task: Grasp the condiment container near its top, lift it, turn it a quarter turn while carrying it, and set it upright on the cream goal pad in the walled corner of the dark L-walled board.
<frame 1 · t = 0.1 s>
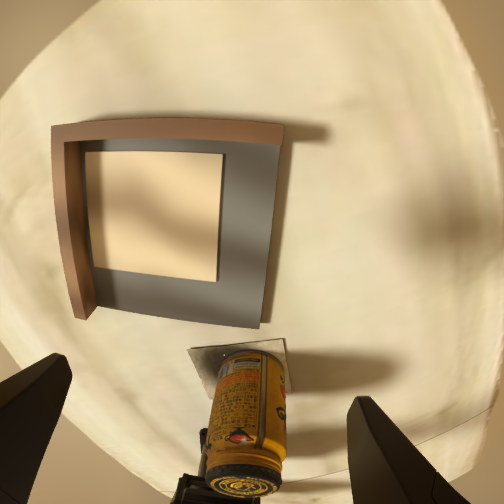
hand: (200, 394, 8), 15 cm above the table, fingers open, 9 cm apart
condiment: (242, 370, 27), on the table
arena: (172, 233, 22), on the table
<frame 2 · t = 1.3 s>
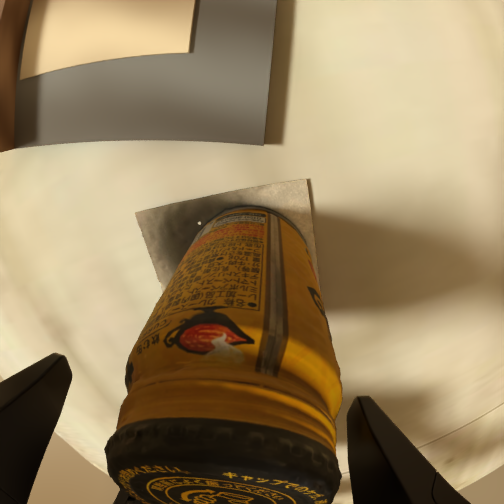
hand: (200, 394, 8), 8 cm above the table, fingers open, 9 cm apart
condiment: (233, 260, 16), on the table
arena: (131, 8, 10), on the table
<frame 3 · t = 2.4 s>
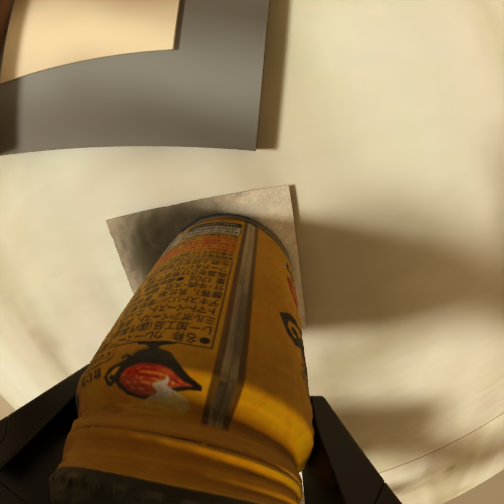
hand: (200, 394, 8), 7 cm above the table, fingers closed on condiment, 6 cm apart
condiment: (209, 272, 15), on the table, touching gripper
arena: (114, 4, 9), on the table
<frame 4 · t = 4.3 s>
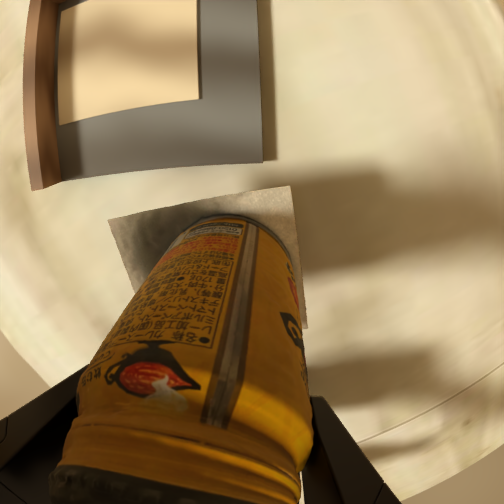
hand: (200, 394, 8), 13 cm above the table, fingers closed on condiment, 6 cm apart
condiment: (211, 272, 15), point 6 cm above the table, touching gripper
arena: (146, 63, 16), on the table
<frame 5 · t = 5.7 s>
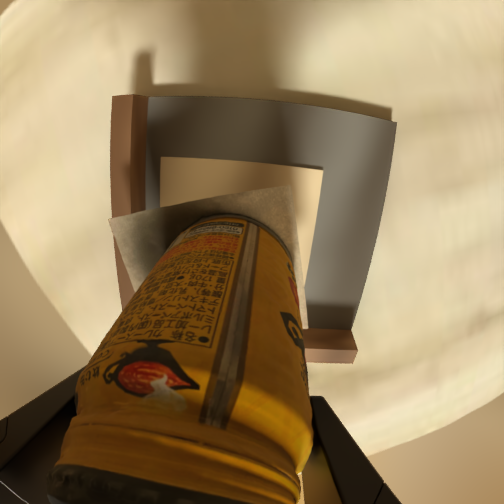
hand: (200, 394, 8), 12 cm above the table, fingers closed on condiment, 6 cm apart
condiment: (211, 272, 15), point 5 cm above the table, touching gripper
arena: (262, 219, 18), on the table
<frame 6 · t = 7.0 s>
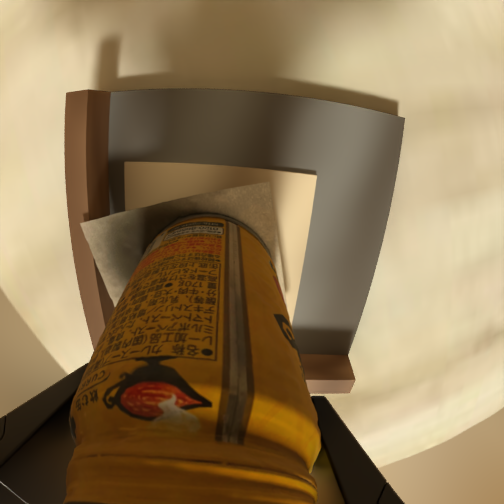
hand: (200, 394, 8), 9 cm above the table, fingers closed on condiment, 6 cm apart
condiment: (189, 273, 14), point 2 cm above the table, touching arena, gripper
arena: (245, 233, 16), on the table
when the fingers open (9 cm above the table, at t = 7.1 s): condiment stays where it is, resting on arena.
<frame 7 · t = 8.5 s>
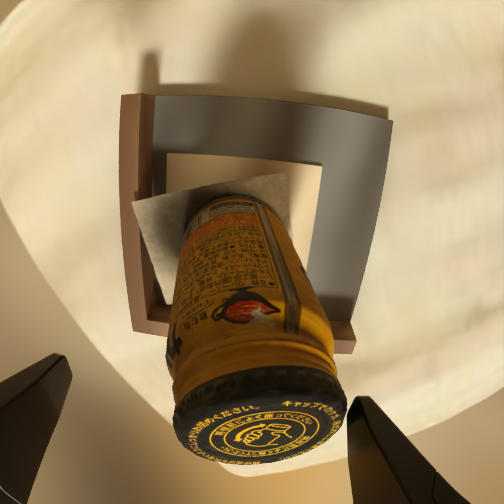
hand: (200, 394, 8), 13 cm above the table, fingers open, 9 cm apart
condiment: (219, 241, 18), point 2 cm above the table, touching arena
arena: (264, 214, 19), on the table
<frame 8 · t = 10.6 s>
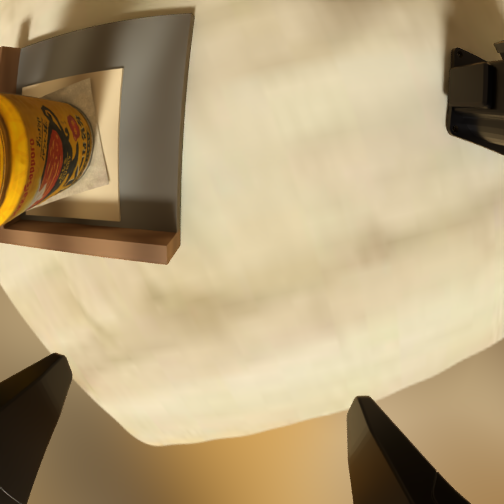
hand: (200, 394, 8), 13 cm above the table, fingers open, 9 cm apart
condiment: (45, 149, 16), point 2 cm above the table, touching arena
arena: (87, 124, 17), on the table
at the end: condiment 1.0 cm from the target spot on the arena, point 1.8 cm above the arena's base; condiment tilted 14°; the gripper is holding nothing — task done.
